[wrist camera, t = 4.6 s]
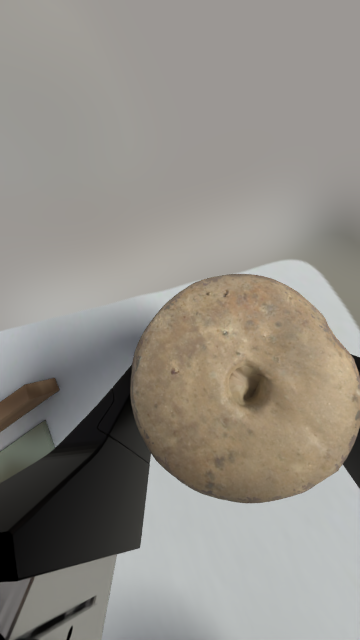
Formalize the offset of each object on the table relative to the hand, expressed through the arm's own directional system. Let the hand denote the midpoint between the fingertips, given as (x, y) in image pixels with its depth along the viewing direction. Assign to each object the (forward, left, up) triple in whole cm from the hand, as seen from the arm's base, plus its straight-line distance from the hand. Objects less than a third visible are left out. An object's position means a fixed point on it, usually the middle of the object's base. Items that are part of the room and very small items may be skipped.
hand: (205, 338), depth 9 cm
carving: (-1, +1, -7) cm, 7 cm away
